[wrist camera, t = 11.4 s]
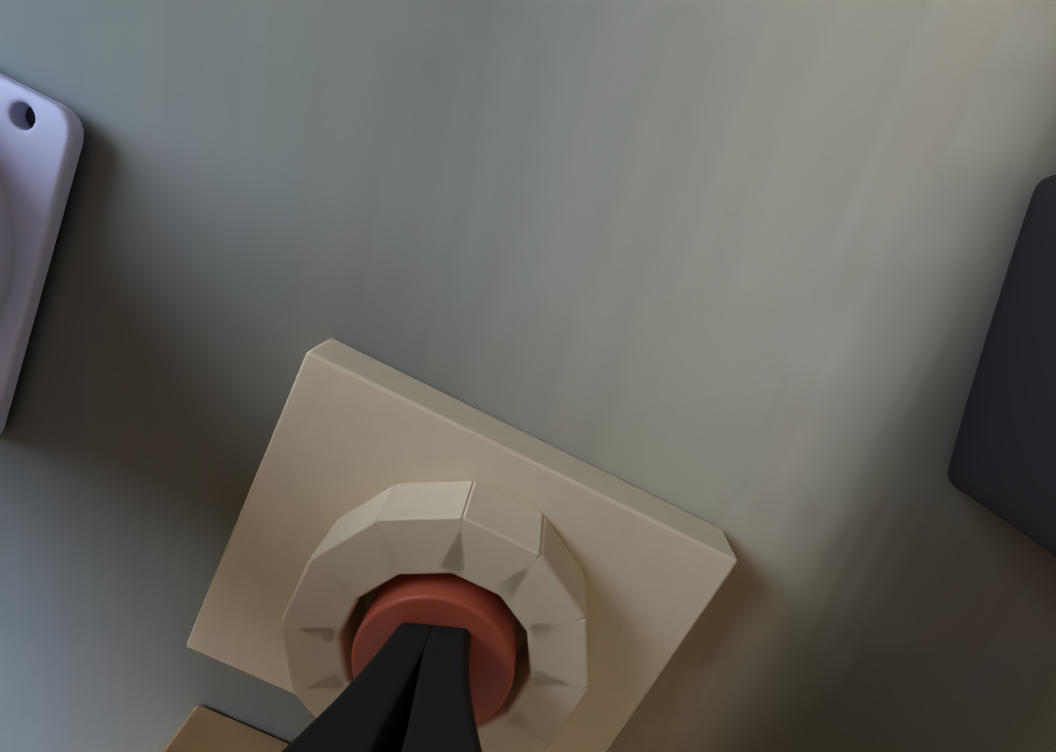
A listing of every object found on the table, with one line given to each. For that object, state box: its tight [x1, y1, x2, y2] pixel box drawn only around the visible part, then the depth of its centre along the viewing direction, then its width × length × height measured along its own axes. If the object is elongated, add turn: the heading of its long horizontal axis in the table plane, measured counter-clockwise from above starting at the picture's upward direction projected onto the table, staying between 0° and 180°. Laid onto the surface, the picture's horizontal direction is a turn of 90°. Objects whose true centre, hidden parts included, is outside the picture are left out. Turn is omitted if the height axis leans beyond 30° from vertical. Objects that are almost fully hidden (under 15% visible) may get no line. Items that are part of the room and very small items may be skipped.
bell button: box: [351, 573, 519, 725], centre depth 13 cm, size 3×3×2 cm
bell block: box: [187, 338, 737, 752], centre depth 14 cm, size 10×8×3 cm
